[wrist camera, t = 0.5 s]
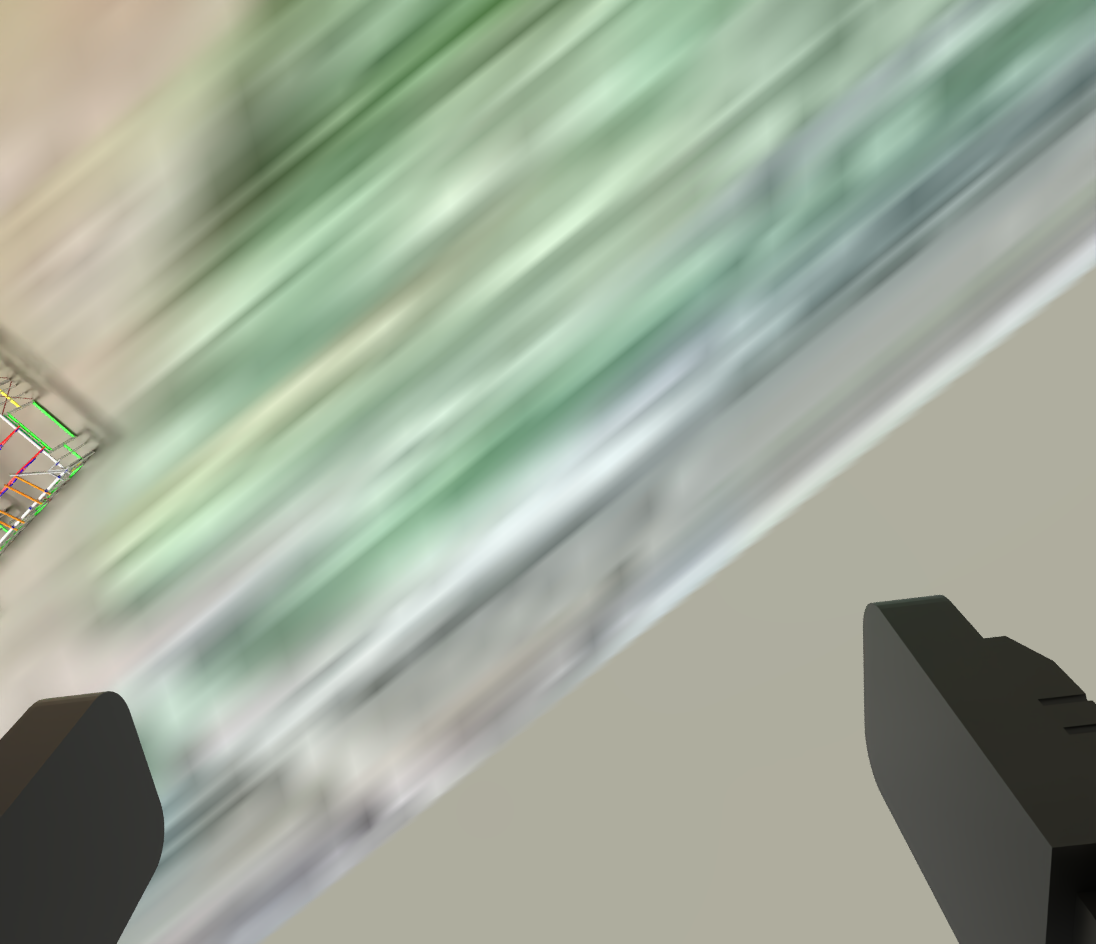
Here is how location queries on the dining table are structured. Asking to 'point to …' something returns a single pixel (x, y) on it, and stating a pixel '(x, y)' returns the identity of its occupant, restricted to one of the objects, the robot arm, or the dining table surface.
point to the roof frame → (50, 491)
